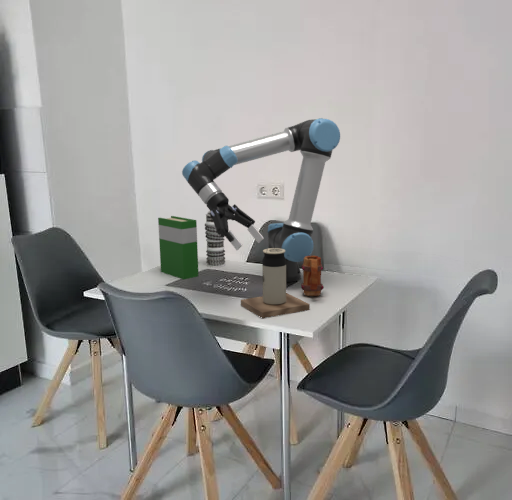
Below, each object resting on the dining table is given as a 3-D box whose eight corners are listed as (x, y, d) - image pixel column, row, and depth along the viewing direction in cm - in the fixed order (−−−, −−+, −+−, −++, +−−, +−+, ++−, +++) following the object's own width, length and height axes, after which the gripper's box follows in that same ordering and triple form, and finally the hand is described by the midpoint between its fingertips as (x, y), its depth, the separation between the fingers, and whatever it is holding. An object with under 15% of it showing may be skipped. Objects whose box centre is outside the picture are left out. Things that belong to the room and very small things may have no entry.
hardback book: (160, 272, 236) (158, 217, 231) (175, 269, 241) (172, 215, 236) (183, 279, 223) (181, 222, 219) (198, 276, 228) (196, 220, 223)
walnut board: (285, 297, 196) (285, 292, 195) (309, 309, 182) (309, 304, 181) (240, 305, 188) (240, 299, 187) (262, 318, 174) (262, 312, 173)
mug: (300, 291, 204) (300, 252, 200) (322, 291, 203) (322, 252, 200) (302, 303, 189) (302, 261, 186) (325, 303, 189) (326, 261, 186)
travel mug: (287, 298, 188) (287, 248, 184) (284, 305, 180) (284, 253, 176) (265, 297, 189) (264, 247, 185) (260, 304, 182) (260, 252, 178)
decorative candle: (208, 262, 253) (207, 209, 247) (228, 263, 251) (226, 209, 246) (203, 267, 244) (201, 212, 239) (223, 267, 242) (221, 212, 237)
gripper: (228, 201, 202) (263, 244, 198) (185, 209, 182) (223, 258, 177) (240, 188, 198) (275, 231, 194) (197, 194, 178) (236, 243, 173)
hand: (250, 244), depth 185 cm, fingers open, 13 cm apart
